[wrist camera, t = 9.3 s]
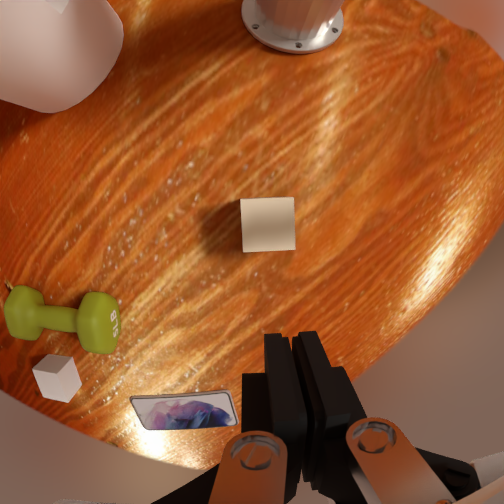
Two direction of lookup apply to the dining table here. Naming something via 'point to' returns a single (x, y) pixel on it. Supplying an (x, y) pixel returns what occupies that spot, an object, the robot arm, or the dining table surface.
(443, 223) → the dining table surface
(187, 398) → the smartphone
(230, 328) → the dining table surface
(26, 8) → the cylinder
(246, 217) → the maple block
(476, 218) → the dining table surface
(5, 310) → the dumbbell
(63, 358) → the grey block
